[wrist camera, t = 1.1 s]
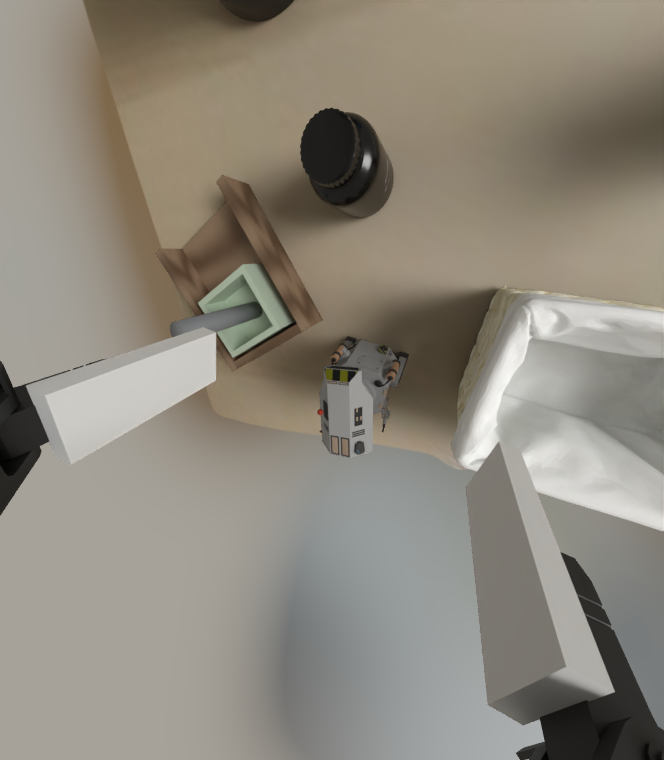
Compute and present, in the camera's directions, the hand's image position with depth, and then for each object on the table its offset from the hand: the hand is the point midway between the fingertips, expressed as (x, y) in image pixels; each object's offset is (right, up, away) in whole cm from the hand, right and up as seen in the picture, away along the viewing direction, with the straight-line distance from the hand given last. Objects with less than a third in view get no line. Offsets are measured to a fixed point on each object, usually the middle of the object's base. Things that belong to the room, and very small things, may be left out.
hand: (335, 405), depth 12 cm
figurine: (+6, +3, +28) cm, 29 cm away
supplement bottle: (+4, +24, +19) cm, 31 cm away
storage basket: (+28, +3, +19) cm, 34 cm away
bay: (-13, +16, +29) cm, 36 cm away
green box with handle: (-11, +12, +29) cm, 33 cm away
